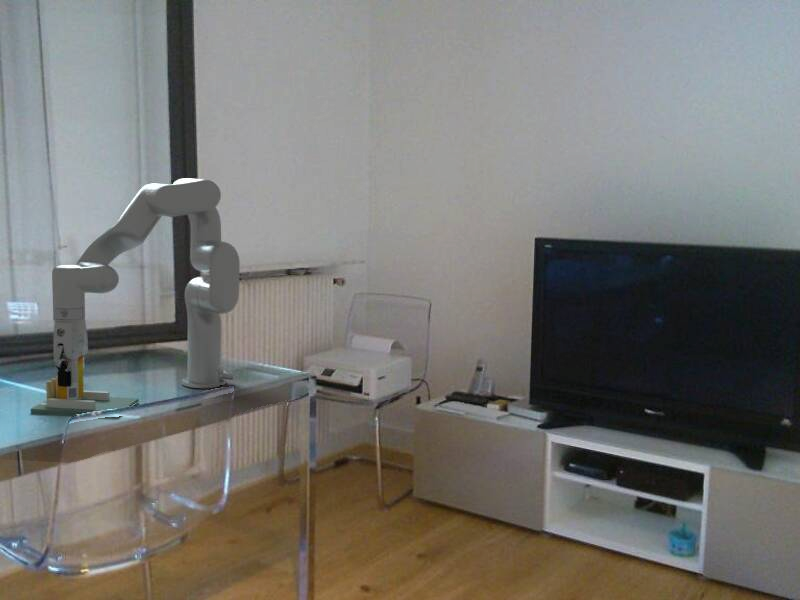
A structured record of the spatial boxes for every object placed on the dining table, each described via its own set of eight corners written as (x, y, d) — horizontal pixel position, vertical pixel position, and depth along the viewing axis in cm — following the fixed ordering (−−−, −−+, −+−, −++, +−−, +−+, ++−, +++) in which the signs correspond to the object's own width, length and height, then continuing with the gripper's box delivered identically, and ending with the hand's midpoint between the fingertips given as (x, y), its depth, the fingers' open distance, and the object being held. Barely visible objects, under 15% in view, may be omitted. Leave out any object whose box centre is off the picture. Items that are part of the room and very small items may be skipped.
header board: (138, 402, 209) (138, 376, 208) (117, 418, 195) (117, 390, 194) (57, 398, 210) (56, 372, 209) (30, 413, 196) (30, 385, 195)
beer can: (79, 395, 207) (77, 339, 204) (86, 400, 202) (85, 343, 200) (54, 398, 203) (53, 341, 200) (62, 404, 198) (60, 345, 196)
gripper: (68, 320, 190) (69, 392, 193) (98, 309, 207) (99, 375, 210) (37, 319, 191) (39, 390, 193) (70, 307, 208) (71, 374, 210)
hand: (70, 382), depth 202 cm, fingers closed on beer can, 6 cm apart
